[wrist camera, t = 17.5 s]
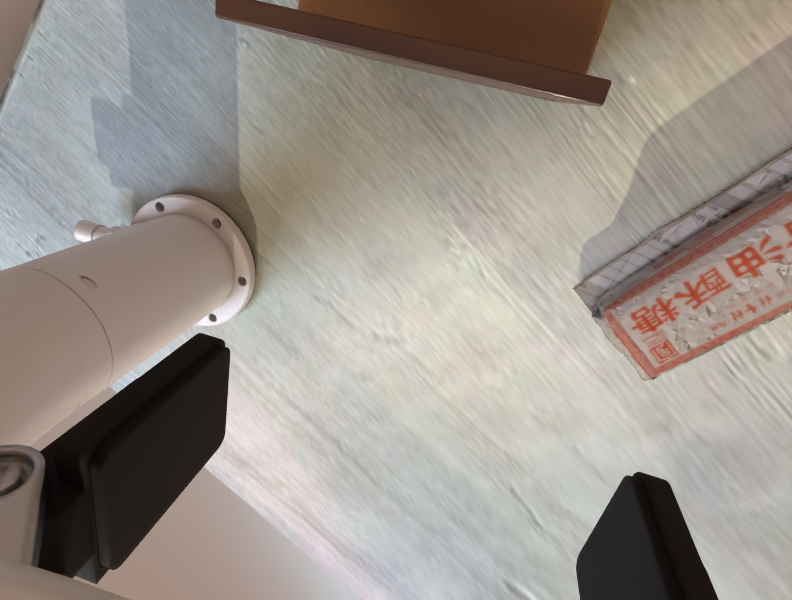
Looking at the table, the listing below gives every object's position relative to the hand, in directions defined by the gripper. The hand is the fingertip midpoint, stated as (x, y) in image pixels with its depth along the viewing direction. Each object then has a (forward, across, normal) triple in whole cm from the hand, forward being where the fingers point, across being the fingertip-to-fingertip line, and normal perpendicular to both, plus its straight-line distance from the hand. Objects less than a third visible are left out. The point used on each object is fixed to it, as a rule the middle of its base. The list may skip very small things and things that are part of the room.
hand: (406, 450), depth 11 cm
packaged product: (+28, -18, 0) cm, 34 cm away
